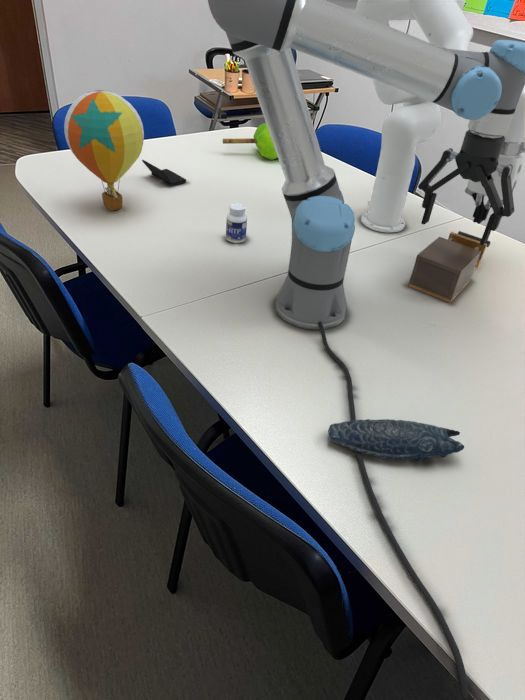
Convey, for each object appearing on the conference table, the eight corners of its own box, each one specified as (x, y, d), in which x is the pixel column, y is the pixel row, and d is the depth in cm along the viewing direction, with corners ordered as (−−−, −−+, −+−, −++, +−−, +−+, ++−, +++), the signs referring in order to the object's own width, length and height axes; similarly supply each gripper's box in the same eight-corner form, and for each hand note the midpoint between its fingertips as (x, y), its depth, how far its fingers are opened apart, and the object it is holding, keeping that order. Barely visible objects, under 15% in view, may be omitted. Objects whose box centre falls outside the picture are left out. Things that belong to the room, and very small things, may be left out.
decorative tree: (219, 118, 187) (300, 118, 192) (219, 148, 194) (297, 147, 199) (226, 133, 174) (312, 132, 179) (226, 164, 180) (309, 163, 185)
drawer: (452, 246, 141) (460, 224, 137) (486, 258, 136) (495, 236, 132) (426, 270, 129) (433, 247, 125) (462, 284, 125) (470, 260, 121)
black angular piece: (190, 175, 164) (173, 153, 156) (179, 193, 163) (161, 172, 155) (166, 170, 170) (147, 148, 162) (155, 188, 169) (136, 167, 161)
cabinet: (430, 266, 133) (439, 236, 127) (469, 281, 128) (481, 251, 123) (408, 286, 124) (417, 254, 119) (449, 303, 119) (461, 271, 114)
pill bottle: (222, 240, 135) (223, 208, 129) (230, 232, 139) (231, 200, 133) (241, 244, 134) (243, 212, 128) (248, 236, 138) (250, 204, 132)
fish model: (462, 473, 80) (472, 452, 77) (326, 456, 81) (331, 434, 78) (454, 441, 86) (463, 420, 82) (327, 425, 86) (331, 403, 83)
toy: (64, 203, 145) (44, 85, 127) (127, 189, 156) (117, 79, 137) (97, 229, 134) (80, 105, 116) (162, 213, 145) (156, 96, 126)
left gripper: (557, 144, 98) (514, 245, 112) (434, 114, 109) (409, 209, 123) (547, 153, 94) (504, 257, 107) (419, 121, 105) (395, 219, 118)
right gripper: (542, 151, 117) (512, 226, 129) (478, 135, 124) (455, 208, 135) (533, 158, 112) (503, 236, 124) (467, 141, 119) (443, 216, 130)
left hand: (453, 232), depth 115 cm, fingers open, 13 cm apart
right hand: (478, 221), depth 129 cm, fingers closed
